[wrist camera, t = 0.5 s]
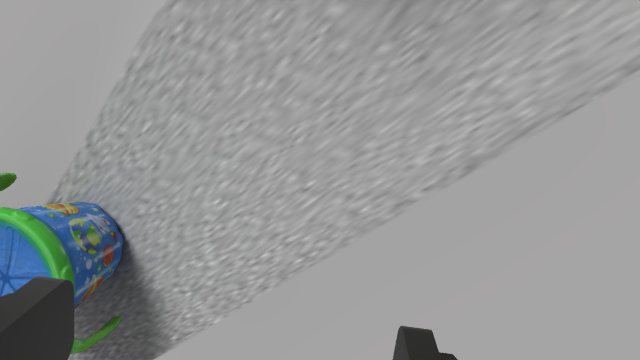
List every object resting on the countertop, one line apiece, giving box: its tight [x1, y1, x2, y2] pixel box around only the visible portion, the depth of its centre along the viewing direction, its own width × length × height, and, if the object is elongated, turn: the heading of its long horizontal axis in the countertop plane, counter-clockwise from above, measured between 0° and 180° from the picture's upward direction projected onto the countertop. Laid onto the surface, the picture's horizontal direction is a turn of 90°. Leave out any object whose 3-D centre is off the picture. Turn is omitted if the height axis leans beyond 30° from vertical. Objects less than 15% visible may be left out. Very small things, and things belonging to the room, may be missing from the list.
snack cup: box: [0, 173, 123, 354], centre depth 40 cm, size 16×10×10 cm
